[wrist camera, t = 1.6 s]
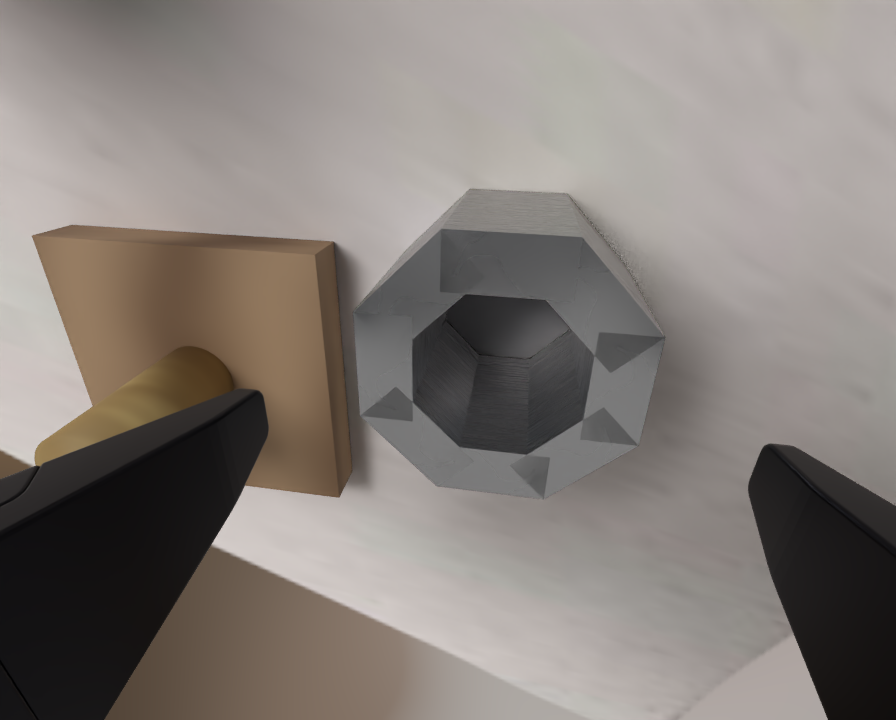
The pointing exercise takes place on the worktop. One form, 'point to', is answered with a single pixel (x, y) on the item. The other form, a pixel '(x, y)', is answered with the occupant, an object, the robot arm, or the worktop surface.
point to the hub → (500, 378)
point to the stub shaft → (205, 340)
